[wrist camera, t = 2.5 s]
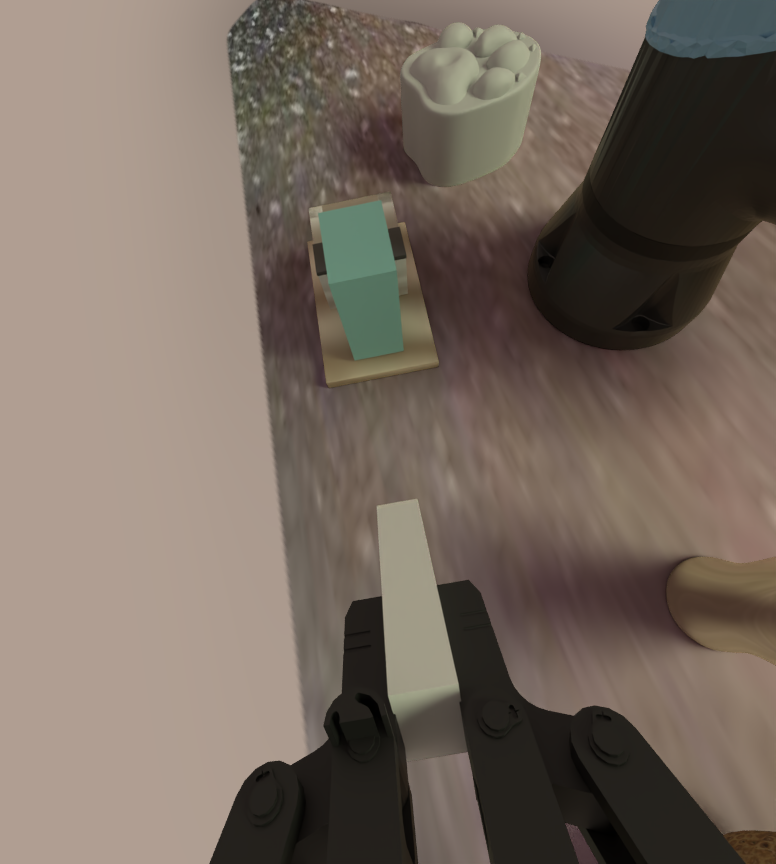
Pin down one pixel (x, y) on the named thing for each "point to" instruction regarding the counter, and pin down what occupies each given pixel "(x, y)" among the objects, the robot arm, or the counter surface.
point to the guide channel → (412, 305)
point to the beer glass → (726, 604)
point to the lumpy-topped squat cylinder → (467, 101)
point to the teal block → (363, 278)
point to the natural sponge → (754, 846)
